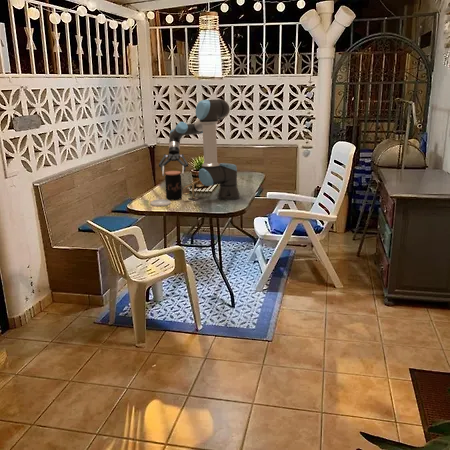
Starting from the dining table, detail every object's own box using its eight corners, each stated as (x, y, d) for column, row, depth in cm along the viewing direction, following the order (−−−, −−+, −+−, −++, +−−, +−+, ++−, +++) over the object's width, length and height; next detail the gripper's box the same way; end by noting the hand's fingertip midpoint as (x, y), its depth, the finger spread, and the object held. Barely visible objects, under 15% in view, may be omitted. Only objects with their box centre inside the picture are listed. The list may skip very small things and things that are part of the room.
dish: (174, 203, 310) (174, 201, 309) (158, 207, 301) (158, 205, 301) (162, 200, 319) (162, 198, 318) (146, 204, 310) (146, 201, 310)
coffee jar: (166, 200, 317) (165, 174, 312) (165, 197, 327) (164, 171, 322) (182, 199, 319) (181, 173, 314) (181, 196, 329) (180, 170, 324)
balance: (206, 198, 323) (205, 179, 319) (186, 202, 312) (185, 183, 308) (200, 196, 327) (199, 178, 323) (180, 201, 316) (179, 182, 312)
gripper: (192, 152, 338) (191, 177, 328) (157, 152, 338) (155, 178, 329) (191, 145, 332) (190, 171, 322) (155, 146, 332) (154, 171, 322)
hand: (173, 174), depth 325 cm, fingers open, 13 cm apart
